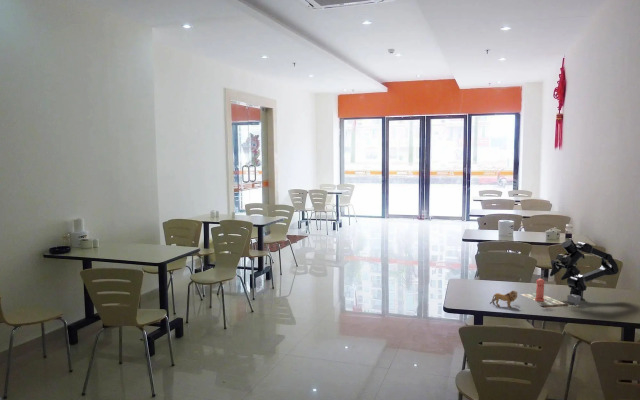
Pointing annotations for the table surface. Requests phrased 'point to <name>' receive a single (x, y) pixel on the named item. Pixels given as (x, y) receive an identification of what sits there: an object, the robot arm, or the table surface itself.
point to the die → (574, 299)
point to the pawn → (540, 290)
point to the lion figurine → (505, 297)
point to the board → (547, 302)
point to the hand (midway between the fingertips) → (555, 277)
